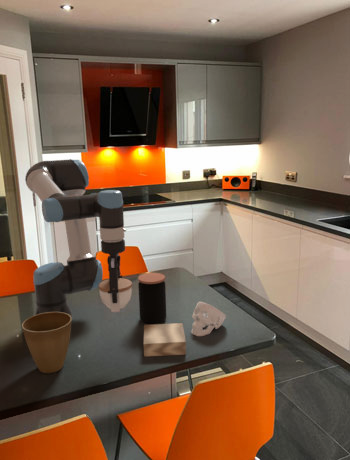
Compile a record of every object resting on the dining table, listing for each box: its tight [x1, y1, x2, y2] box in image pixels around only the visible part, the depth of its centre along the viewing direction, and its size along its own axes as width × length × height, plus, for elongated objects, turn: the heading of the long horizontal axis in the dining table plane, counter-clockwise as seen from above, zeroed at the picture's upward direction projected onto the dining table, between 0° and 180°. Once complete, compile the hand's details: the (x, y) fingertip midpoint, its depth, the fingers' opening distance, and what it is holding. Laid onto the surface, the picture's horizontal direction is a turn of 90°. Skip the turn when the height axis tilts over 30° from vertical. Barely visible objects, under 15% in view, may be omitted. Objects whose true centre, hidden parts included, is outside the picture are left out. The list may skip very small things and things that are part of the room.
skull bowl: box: [190, 301, 226, 337], centre depth 152 cm, size 10×14×12 cm
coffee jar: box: [137, 272, 167, 325], centre depth 160 cm, size 11×11×18 cm
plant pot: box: [21, 312, 73, 374], centre depth 128 cm, size 15×15×16 cm
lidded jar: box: [98, 277, 133, 310], centre depth 131 cm, size 11×11×9 cm
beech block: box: [143, 322, 187, 357], centre depth 141 cm, size 14×14×5 cm
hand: (116, 304), depth 132 cm, fingers closed on lidded jar, 11 cm apart
